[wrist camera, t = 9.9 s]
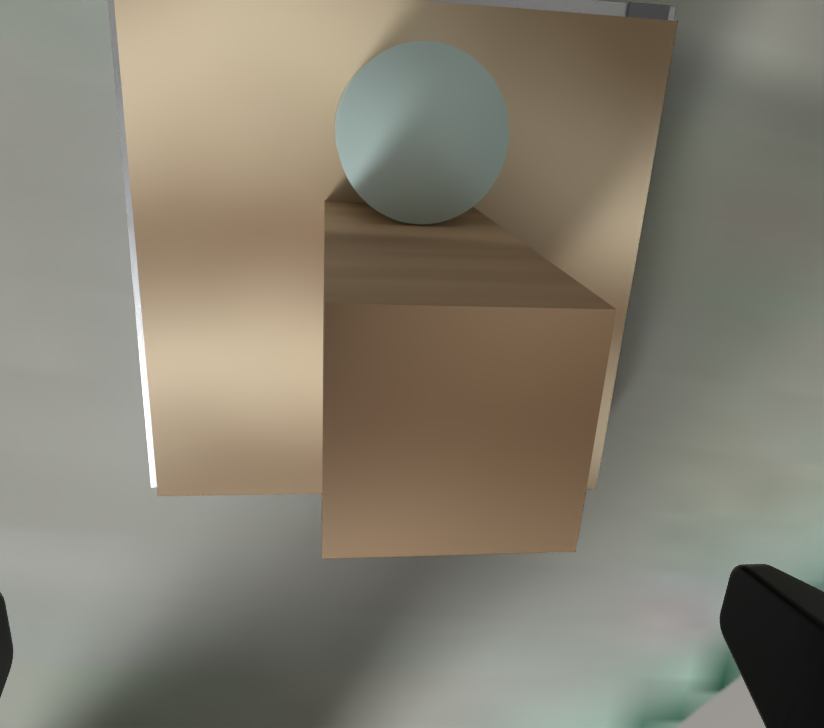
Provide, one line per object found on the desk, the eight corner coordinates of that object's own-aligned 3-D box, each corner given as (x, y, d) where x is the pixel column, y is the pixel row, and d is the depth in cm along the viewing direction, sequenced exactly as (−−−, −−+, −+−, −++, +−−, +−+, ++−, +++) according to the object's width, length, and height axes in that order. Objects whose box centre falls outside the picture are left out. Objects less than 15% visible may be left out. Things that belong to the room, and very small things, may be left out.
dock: (571, 450, 23) (594, 484, 21) (166, 453, 21) (150, 489, 19) (640, 16, 18) (677, 6, 16) (129, -27, 16) (102, -44, 14)
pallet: (581, 468, 21) (781, 754, 12) (167, 472, 19) (26, 808, 10) (653, 26, 16) (1059, -65, 7) (127, -16, 15) (-181, -196, 6)
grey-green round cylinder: (467, 206, 16) (498, 228, 13) (331, 198, 16) (333, 219, 13) (483, 58, 15) (519, 49, 12) (336, 45, 15) (339, 32, 12)
